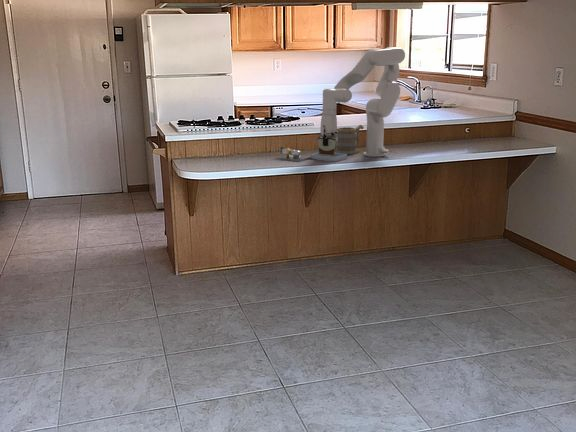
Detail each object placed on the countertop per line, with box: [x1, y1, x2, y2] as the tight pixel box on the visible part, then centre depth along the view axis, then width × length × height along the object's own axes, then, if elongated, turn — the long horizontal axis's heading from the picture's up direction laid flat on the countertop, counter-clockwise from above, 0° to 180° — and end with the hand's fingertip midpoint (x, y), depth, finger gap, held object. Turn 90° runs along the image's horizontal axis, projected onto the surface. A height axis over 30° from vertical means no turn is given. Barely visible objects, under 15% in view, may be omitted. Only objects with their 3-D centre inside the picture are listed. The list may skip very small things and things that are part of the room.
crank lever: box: [279, 146, 301, 157], centre depth 336 cm, size 13×4×5 cm, turn 58°
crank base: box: [281, 147, 312, 163], centre depth 334 cm, size 13×12×6 cm
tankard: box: [335, 124, 364, 155], centre depth 353 cm, size 20×13×15 cm, turn 126°
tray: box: [310, 151, 348, 163], centre depth 334 cm, size 16×12×2 cm
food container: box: [316, 134, 338, 155], centre depth 332 cm, size 12×6×10 cm, turn 59°
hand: (328, 144), depth 332 cm, fingers closed on food container, 6 cm apart
